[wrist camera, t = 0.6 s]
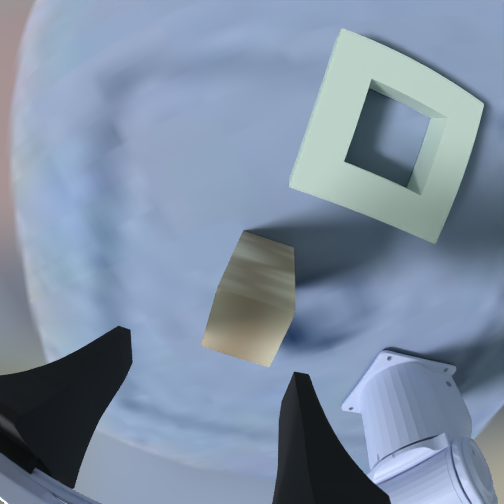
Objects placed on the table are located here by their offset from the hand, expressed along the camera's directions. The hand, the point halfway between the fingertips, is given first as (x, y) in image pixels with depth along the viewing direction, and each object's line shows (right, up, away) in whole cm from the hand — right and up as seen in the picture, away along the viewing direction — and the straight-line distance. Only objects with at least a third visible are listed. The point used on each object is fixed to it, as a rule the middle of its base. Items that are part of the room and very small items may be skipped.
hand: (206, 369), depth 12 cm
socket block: (+10, +12, +5) cm, 17 cm away
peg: (+3, +4, +9) cm, 10 cm away
